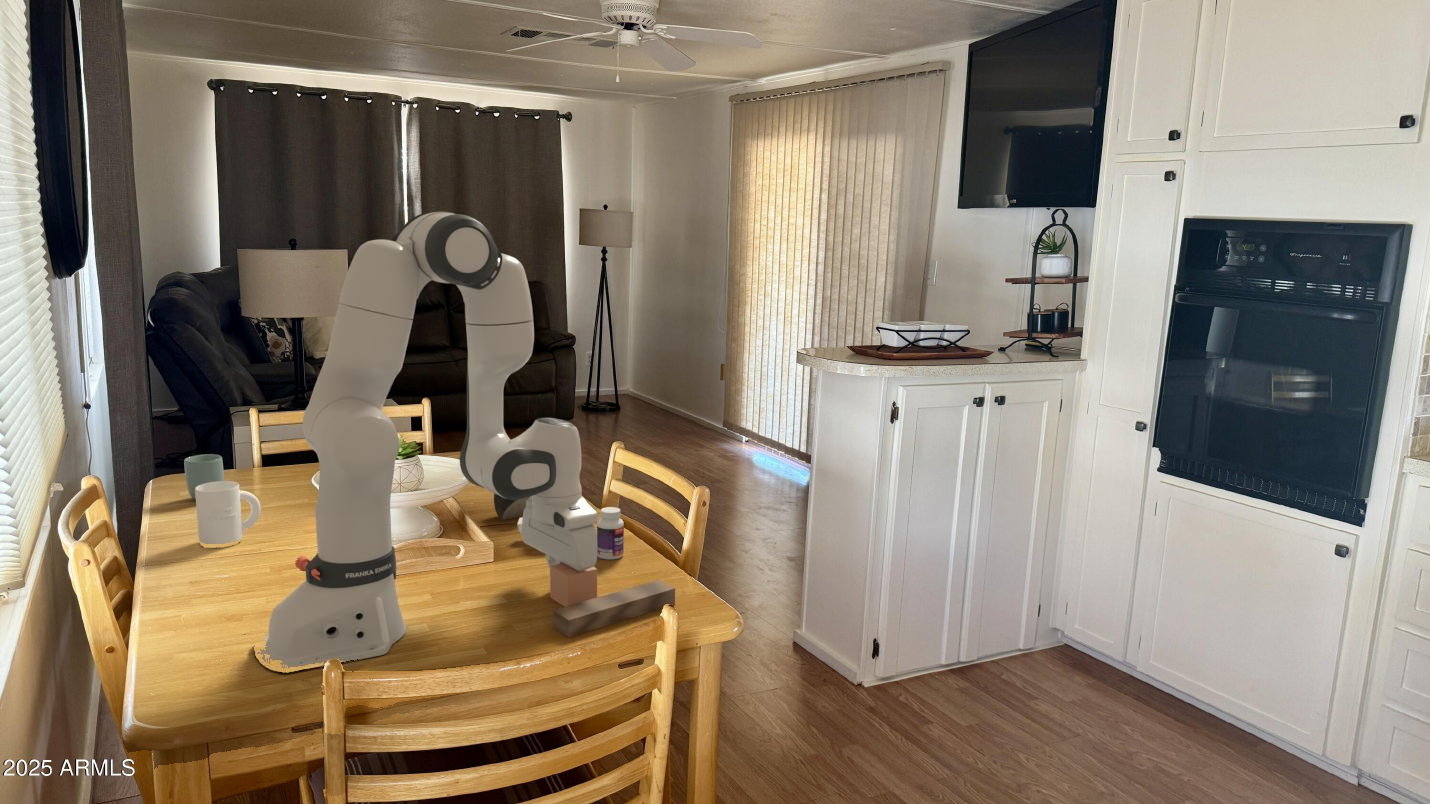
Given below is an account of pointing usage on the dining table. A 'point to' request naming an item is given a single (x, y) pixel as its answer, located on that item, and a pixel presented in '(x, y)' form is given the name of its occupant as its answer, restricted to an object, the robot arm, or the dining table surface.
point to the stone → (509, 507)
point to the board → (612, 608)
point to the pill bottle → (610, 534)
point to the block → (572, 584)
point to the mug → (223, 512)
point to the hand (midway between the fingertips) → (558, 578)
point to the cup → (202, 471)
